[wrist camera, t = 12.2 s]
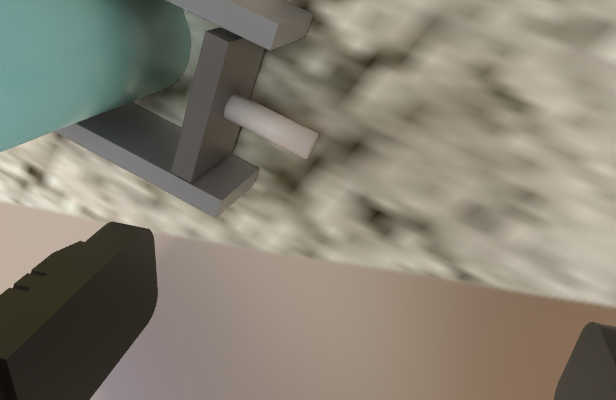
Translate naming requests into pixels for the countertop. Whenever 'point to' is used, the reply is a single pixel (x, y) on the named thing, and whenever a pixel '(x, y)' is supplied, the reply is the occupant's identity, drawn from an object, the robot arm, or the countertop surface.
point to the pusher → (229, 107)
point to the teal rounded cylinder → (83, 60)
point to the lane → (165, 136)
